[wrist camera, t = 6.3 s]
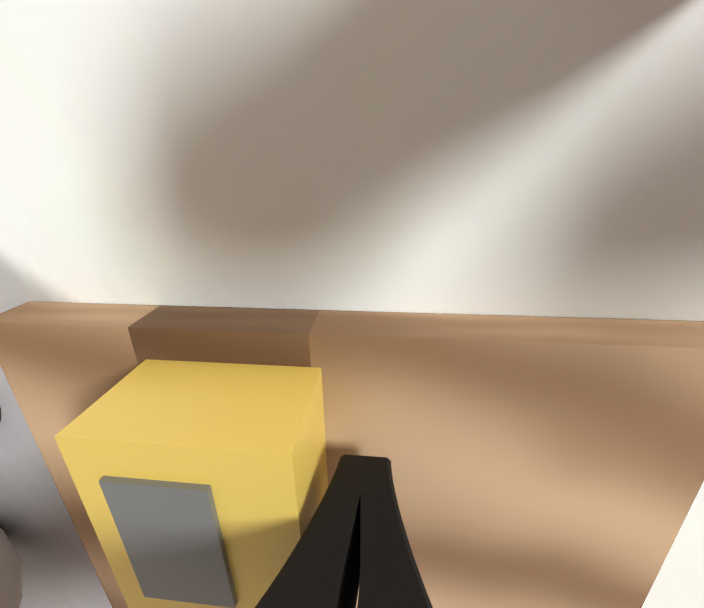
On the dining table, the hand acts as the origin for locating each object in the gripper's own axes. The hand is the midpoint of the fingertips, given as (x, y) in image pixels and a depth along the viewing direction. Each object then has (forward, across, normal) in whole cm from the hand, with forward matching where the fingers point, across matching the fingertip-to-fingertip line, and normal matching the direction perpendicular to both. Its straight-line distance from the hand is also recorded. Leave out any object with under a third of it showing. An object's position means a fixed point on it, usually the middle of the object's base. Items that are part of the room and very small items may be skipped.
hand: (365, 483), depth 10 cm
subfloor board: (+2, +1, +5) cm, 6 cm away
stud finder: (+1, +4, 0) cm, 4 cm away
